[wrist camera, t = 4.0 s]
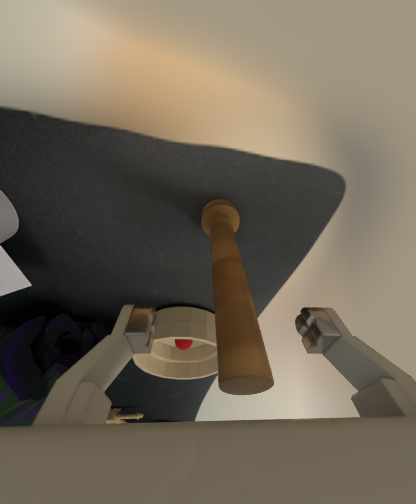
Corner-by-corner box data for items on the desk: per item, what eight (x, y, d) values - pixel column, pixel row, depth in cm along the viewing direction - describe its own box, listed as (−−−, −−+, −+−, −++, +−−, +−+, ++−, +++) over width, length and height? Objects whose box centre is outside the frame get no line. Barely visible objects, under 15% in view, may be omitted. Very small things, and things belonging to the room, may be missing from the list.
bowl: (231, 304, 29) (236, 337, 25) (221, 349, 38) (223, 379, 34) (136, 302, 28) (123, 336, 24) (148, 348, 37) (141, 379, 33)
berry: (193, 326, 31) (192, 344, 29) (193, 335, 33) (192, 353, 31) (175, 325, 31) (172, 344, 29) (176, 335, 33) (173, 353, 31)
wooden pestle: (240, 199, 19) (316, 365, 6) (234, 233, 21) (279, 401, 8) (202, 197, 18) (197, 364, 6) (200, 231, 21) (194, 402, 8)
